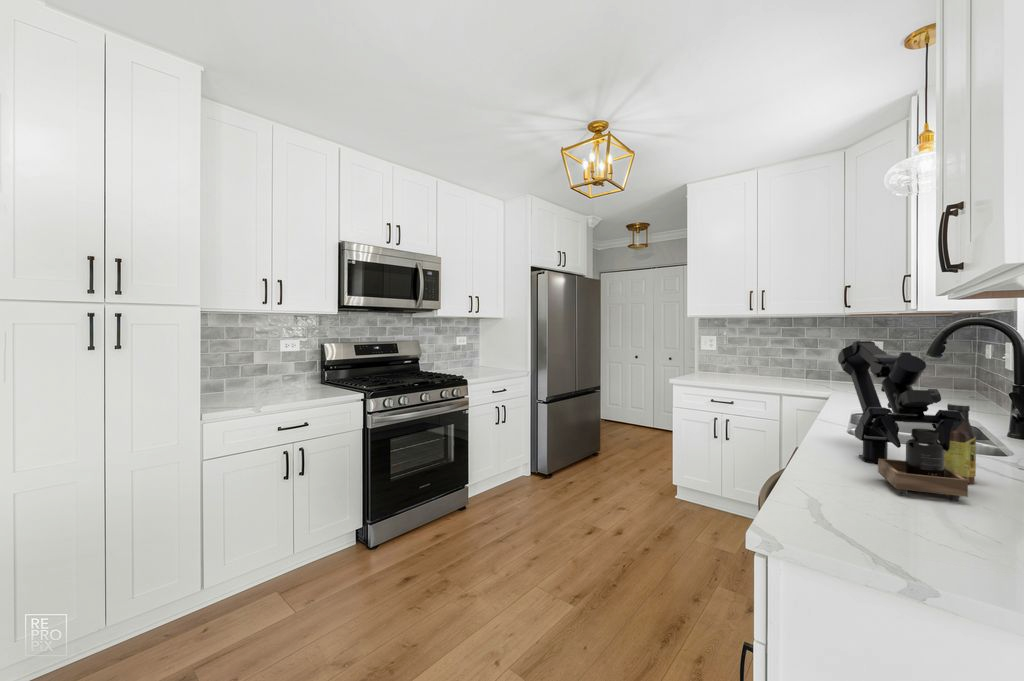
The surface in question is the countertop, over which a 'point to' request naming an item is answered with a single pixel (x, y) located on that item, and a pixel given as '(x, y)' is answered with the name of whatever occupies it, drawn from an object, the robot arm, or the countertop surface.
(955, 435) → the sauce bottle
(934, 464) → the supplement bottle
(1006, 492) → the countertop surface
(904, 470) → the square wooden tray
